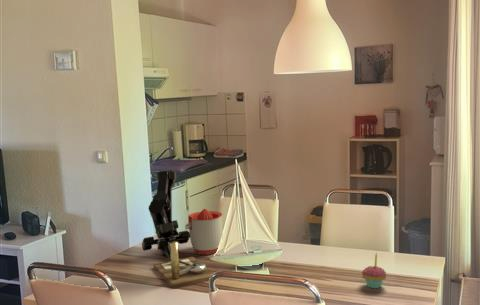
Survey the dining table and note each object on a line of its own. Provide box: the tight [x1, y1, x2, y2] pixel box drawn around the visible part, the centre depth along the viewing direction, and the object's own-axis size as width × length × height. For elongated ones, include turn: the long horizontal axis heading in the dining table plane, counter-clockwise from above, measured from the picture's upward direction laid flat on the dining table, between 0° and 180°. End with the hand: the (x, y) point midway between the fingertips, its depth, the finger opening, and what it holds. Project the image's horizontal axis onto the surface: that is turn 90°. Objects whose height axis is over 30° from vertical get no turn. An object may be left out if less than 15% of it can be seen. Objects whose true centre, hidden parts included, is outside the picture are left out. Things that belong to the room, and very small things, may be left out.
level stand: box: [153, 256, 214, 289], centre depth 197 cm, size 26×18×2 cm
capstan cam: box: [170, 241, 207, 279], centre depth 195 cm, size 19×15×14 cm
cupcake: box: [361, 252, 387, 289], centre depth 174 cm, size 9×8×12 cm
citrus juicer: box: [184, 208, 223, 256], centre depth 222 cm, size 16×17×20 cm
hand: (171, 259), depth 188 cm, fingers closed
